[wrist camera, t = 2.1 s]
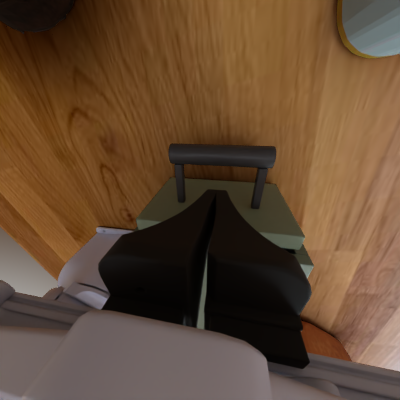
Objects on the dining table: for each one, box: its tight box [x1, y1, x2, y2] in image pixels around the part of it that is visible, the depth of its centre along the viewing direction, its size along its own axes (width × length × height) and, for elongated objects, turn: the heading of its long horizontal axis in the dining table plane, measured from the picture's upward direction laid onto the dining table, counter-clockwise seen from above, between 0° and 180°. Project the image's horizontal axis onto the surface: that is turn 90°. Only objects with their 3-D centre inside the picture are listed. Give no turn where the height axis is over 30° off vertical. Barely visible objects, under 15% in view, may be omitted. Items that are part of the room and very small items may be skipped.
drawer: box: [136, 143, 305, 250], centre depth 16 cm, size 18×11×8 cm, turn 0°
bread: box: [301, 321, 352, 362], centre depth 28 cm, size 18×22×17 cm
